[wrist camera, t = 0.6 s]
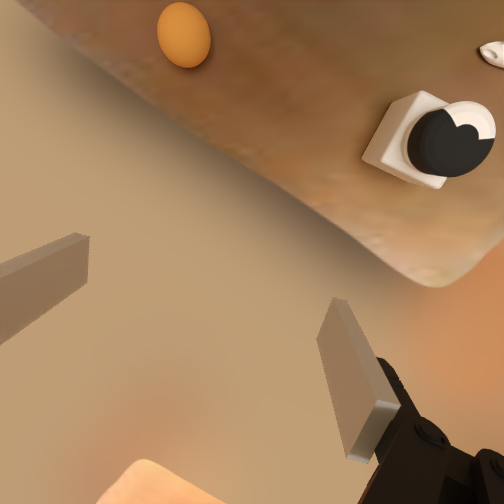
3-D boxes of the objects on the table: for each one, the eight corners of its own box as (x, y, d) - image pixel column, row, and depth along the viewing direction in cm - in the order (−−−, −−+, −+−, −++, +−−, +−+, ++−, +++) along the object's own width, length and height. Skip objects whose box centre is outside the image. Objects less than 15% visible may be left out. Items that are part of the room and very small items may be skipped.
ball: (189, 3, 31) (173, -25, 26) (224, 45, 33) (216, 26, 27) (158, 45, 33) (137, 25, 28) (192, 84, 34) (178, 72, 29)
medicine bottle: (408, 183, 36) (470, 198, 25) (359, 159, 36) (400, 163, 24) (443, 127, 34) (530, 115, 23) (391, 100, 33) (453, 75, 22)
